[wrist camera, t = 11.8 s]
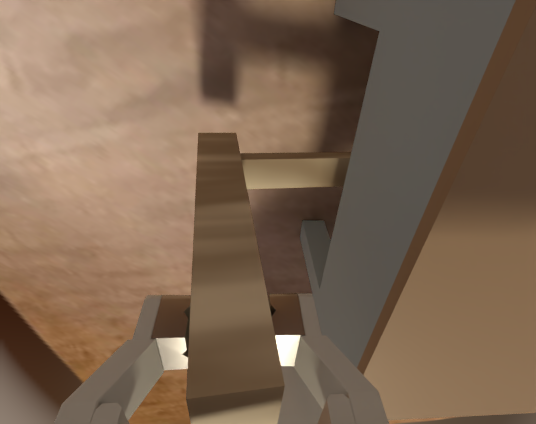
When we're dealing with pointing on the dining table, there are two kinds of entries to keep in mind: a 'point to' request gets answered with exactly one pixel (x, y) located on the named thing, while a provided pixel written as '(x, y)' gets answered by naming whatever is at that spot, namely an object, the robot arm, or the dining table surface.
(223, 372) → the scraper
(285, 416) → the utensil holder
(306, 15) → the dining table surface
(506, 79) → the wooden top stool
